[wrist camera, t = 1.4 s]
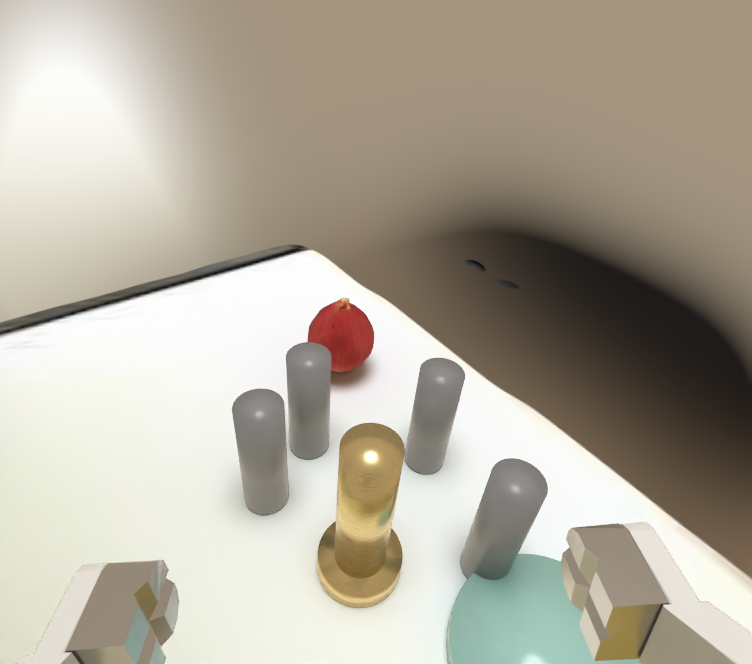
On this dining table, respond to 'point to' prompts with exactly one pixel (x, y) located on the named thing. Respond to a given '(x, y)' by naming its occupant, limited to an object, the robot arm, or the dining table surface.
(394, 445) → the bolt
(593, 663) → the saucer
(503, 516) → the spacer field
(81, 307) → the dining table surface
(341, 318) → the pomegranate
